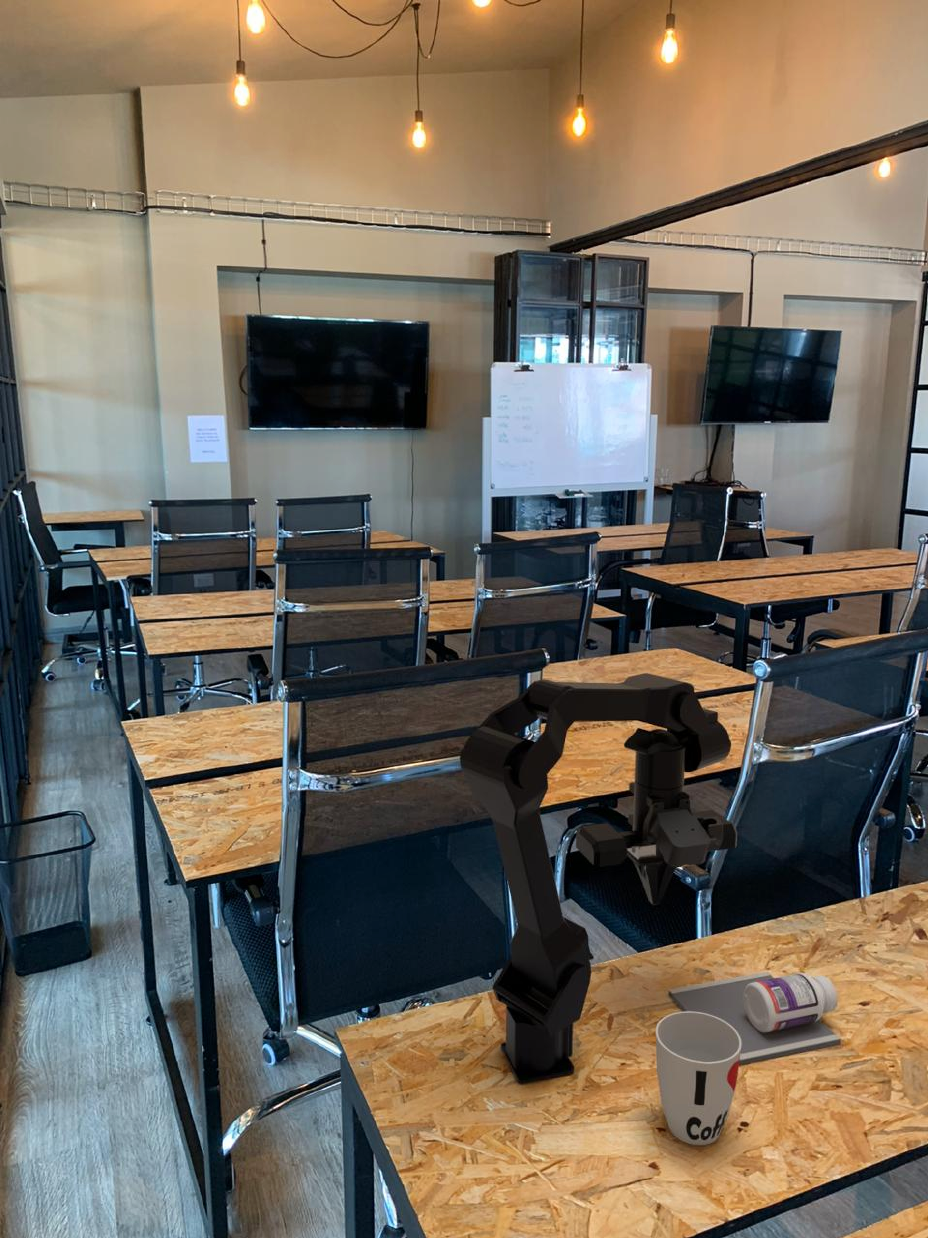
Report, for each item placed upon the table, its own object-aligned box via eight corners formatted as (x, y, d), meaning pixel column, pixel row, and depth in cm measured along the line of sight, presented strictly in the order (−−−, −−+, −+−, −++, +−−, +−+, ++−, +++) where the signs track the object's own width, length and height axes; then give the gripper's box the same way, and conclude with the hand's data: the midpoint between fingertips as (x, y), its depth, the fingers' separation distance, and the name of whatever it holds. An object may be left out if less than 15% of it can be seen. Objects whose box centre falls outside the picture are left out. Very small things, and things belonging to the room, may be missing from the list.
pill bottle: (740, 1016, 109) (810, 1002, 112) (768, 1043, 104) (841, 1027, 106) (742, 973, 108) (813, 960, 111) (770, 998, 103) (843, 983, 106)
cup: (685, 1167, 87) (689, 1072, 85) (635, 1111, 94) (639, 1023, 92) (753, 1142, 90) (759, 1050, 88) (701, 1089, 97) (705, 1003, 95)
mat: (731, 1067, 101) (732, 1061, 101) (668, 994, 114) (668, 989, 114) (840, 1044, 105) (841, 1038, 104) (767, 976, 118) (767, 971, 118)
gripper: (617, 815, 99) (612, 949, 102) (768, 797, 104) (759, 924, 107) (575, 780, 109) (572, 902, 112) (714, 764, 115) (708, 881, 117)
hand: (654, 903), depth 112 cm, fingers closed
